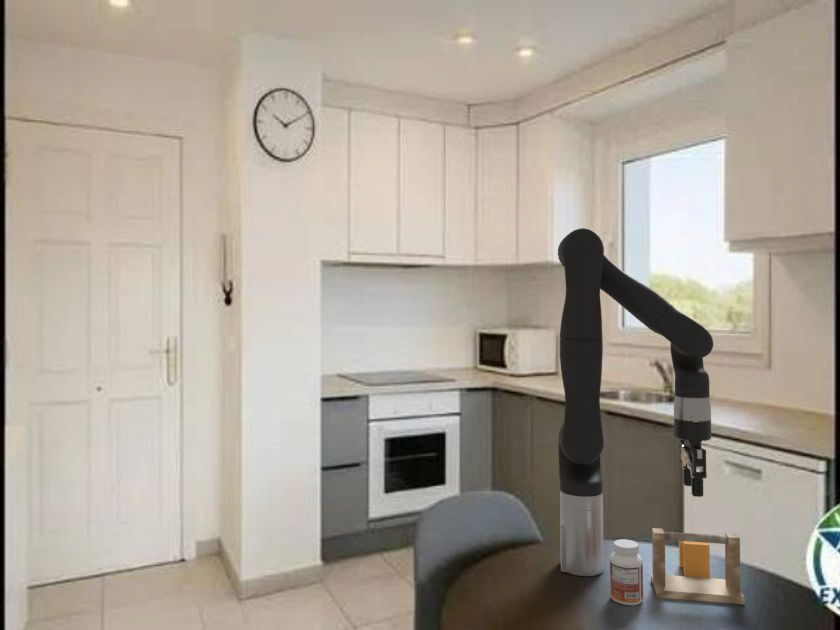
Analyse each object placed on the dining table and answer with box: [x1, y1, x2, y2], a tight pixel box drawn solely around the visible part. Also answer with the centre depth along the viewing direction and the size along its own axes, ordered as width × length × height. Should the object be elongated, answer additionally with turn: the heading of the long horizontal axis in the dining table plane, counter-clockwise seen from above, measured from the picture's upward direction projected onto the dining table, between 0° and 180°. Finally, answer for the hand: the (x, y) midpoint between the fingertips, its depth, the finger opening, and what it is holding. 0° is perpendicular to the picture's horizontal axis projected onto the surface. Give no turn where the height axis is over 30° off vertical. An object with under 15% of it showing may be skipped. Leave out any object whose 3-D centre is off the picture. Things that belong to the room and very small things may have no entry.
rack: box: [650, 527, 745, 605], centre depth 126 cm, size 16×8×12 cm, turn 78°
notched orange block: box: [678, 541, 711, 578], centre depth 136 cm, size 5×6×7 cm
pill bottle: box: [609, 539, 644, 606], centre depth 123 cm, size 6×6×11 cm
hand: (693, 490), depth 137 cm, fingers open, 8 cm apart
